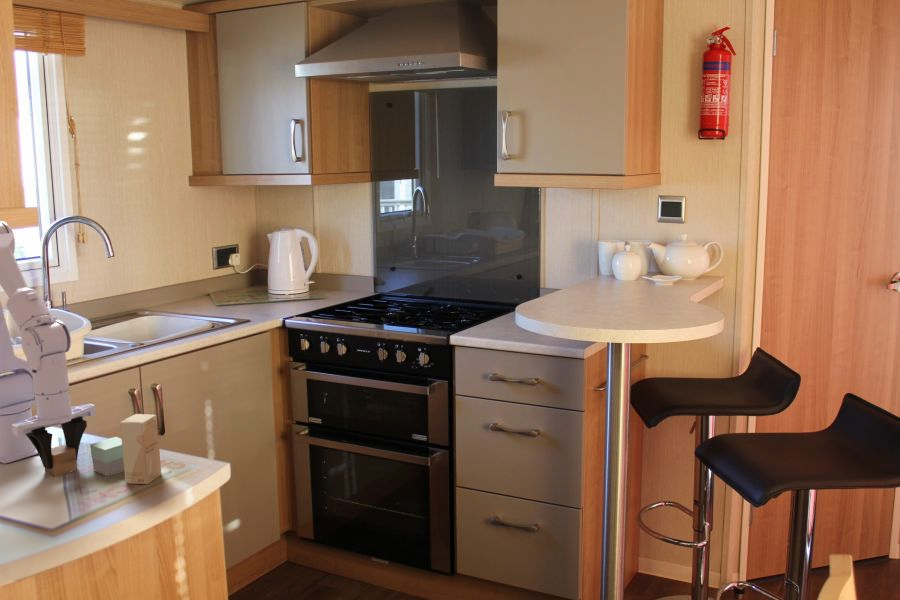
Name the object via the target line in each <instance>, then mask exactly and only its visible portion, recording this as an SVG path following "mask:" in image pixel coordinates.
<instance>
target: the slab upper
mask: <svg viewBox="0 0 900 600" xmlns="http://www.w3.org/2000/svg"><path fill="white" fill-rule="evenodd" d="M89 446H90V454H91V459H92V458H94V459H96V460H99V461H101V462H104V463H109V462H113V461H116V460H119V459H122V458H123V450H122V439H121V438H120V437H118V436H114V437H110V438H107V439H103V440H100V441H97V442H94V443H93V442H92V443H90V444H89Z"/></svg>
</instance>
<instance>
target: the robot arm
mask: <svg viewBox="0 0 900 600" xmlns="http://www.w3.org/2000/svg"><path fill="white" fill-rule="evenodd" d="M15 242H16V239H15V235H14V232H13V230H12V228H11V226H9V224H8V223H7V222H5V221H1V220H0V286H1V288H2V290H3V291H4V292H5V293H6V295H7V297H8V299H7V301H6V306H5V307H6V308H7V310H8V312H9V314H10V315H11V317H12V318H13V319H12V320H14V322H15V324H16V327H17V328H18V329H19V332H20V333H21V342H20V344H21V349H22V351H23V354H24V355H25V357H26V360H25V359H22V358H21V357H19V356H17V355H16V354H15V351H14V347H13V343H12V340H11V335H10V332H9V329H8V326H7V325H8V324H7V322H6V317H5V314H4V310H3V306H2V303H1V301H0V463H2V464H9V463H12V462H15V461H18V460H19V461H20V460H22V459H25V458H28V457H31V456H35V455H38V456H39V458H40V461H41V463H42V466H43V468H44V469H45V468H47V469H51V468H53V459H52V452H51V448H52V440H53V433H50V432H48V430H47V429H49V428H50V427H55V426H59V425H60V426H61V429H62V432H63V435H64V439H65V440H64V441H65V445H66V446H69V447H72V448H74V449H75V451H76V459H77V460H78V455H79V450H80V445H81V441H82V438H83V435H84V432H85V431H86V429H87V427H88V425H87V424H88V423H87V420H85V419H84V418H86V417H95V416H97V409H96V404H92V403H87V404H82V405H76V406H72V399H71V393H70V383H69V374H68V373H69V372H68V364H67V355H66V353H68V352H69V351H70V349H71V345H72V338H71V333H70V330H69V329H68V327H67V324H66V323H65V322H63V321H62V320H59V319H58V317H57V316H53V315H52V313H51V312H50V310H49V308H48V307H47V305H46V303H45V302H44V299H43V298H42V296H41V295H40V293H39V291H37V290H35V289H34V288H29V286H28V284H27V282H26V280H25V278H24V275H23V273H22V271H21V268H20V267H19V265H18V262H17V259H16V258H15V255H14V254H15V249H16V243H15ZM6 373H11V374H6ZM2 374H4V375H2ZM1 375H2V376H1ZM32 407H35V409H36V415H34V416H33V411H32Z"/></svg>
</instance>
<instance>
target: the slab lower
mask: <svg viewBox="0 0 900 600" xmlns="http://www.w3.org/2000/svg"><path fill="white" fill-rule="evenodd" d="M91 459H92V460H91V461H92V468H93V469H92V470H93V471H94V470H96V471H98V472H97V473H99V472H100V473H99V474H101V473H103V474H102V475H104V474H106V475H108V476H107V477H110V476H109V475H111V476H114V475H116V474H119V473H122V472H125V471H124V461H123V458H122V459H119V460H116V461H113V462H109V463H104V462H101V461H99V460H96V459H94V458H92V457H91ZM96 471H95V472H96ZM113 474H114V475H113ZM106 475H105V476H106Z"/></svg>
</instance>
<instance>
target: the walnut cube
mask: <svg viewBox="0 0 900 600" xmlns="http://www.w3.org/2000/svg"><path fill="white" fill-rule="evenodd" d="M51 452H52V459H53V468H51V469H47V468H45V467H44V473H46V474H49V475H50V476H53V477H56V478H57V477H60V476H64V475H66V473H67V474H70V473H72V472H71V471H73V472H75V471H74V470H76V471H78V470H79V469H78V458H77V459H76V451H75V449H74V448H72V447H69V446H66V444H62V445H58V446H55V447H51ZM77 469H78V470H77ZM69 472H70V473H69Z"/></svg>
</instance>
